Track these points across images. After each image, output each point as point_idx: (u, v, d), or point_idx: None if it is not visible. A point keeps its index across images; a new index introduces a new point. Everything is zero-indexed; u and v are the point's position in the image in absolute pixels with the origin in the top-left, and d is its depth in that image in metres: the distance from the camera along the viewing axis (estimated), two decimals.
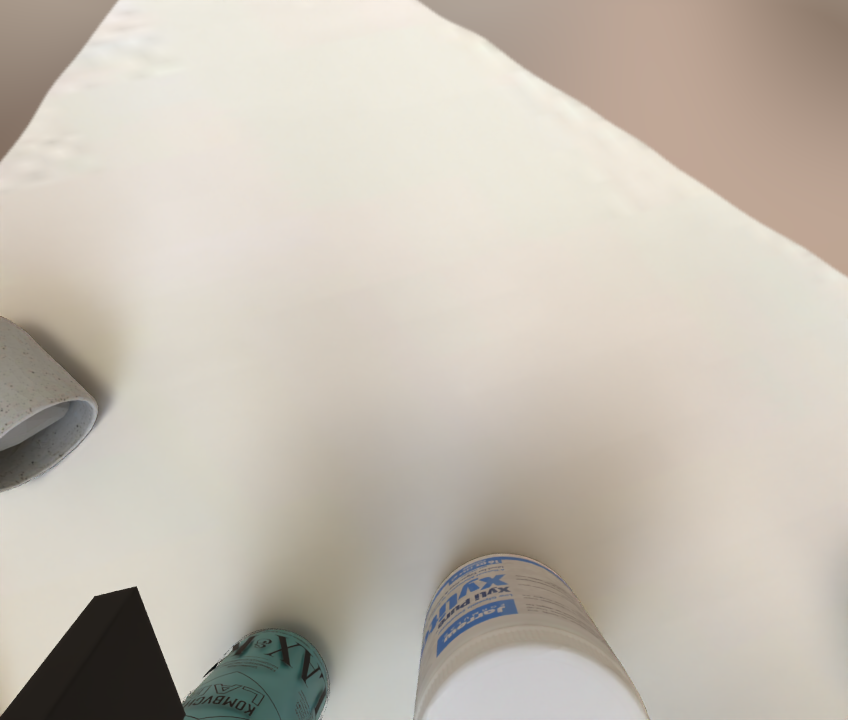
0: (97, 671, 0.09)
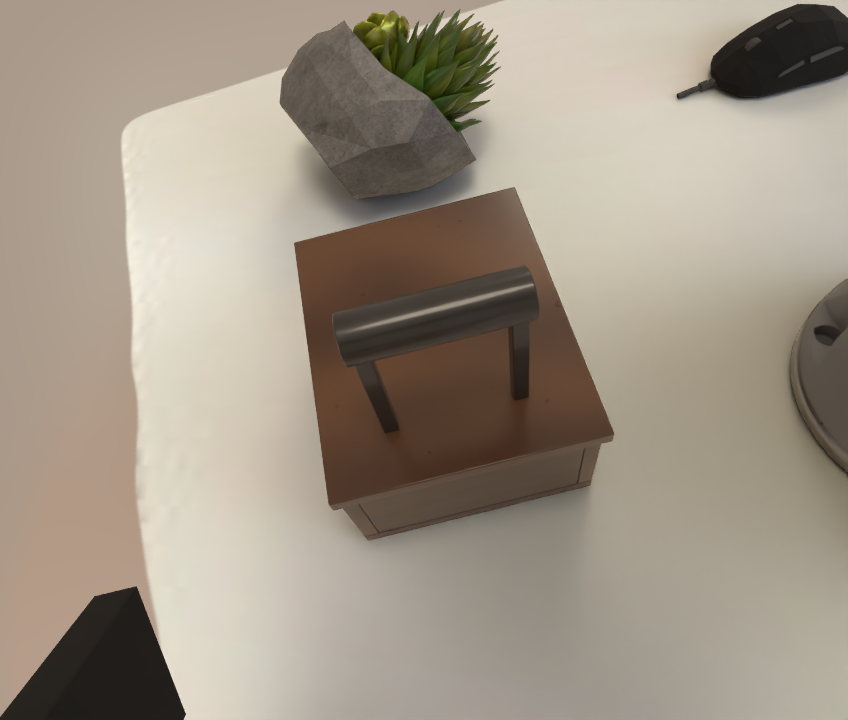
0: (97, 671, 0.09)
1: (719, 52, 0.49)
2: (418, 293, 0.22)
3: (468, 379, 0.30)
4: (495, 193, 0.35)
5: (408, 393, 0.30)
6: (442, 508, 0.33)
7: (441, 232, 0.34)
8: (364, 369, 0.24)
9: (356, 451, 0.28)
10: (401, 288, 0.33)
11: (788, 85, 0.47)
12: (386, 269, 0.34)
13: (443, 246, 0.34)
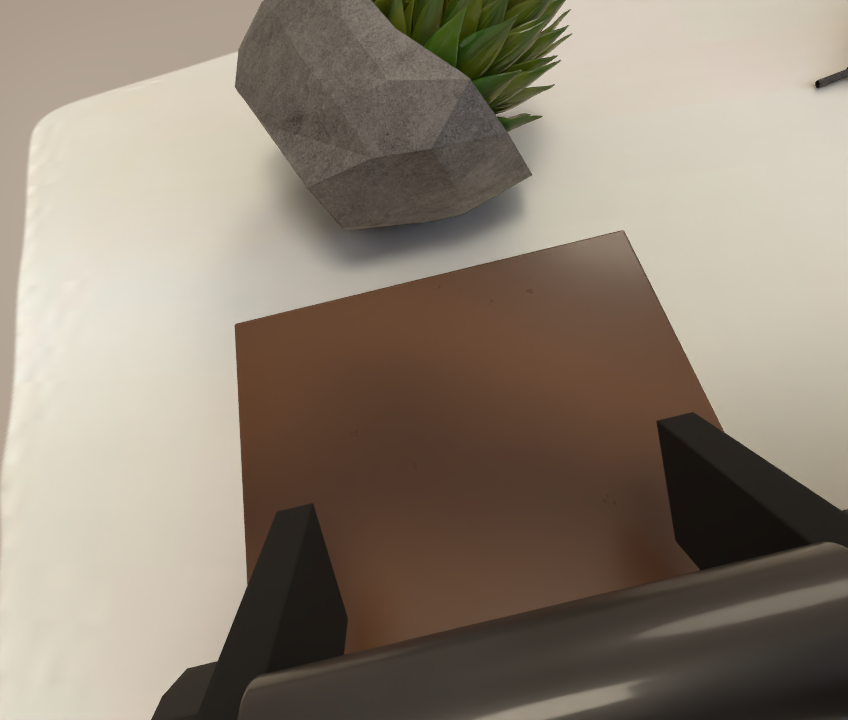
0: (306, 563, 0.11)
1: None
2: (517, 651, 0.07)
3: None
4: (590, 241, 0.20)
5: None
6: None
7: (497, 312, 0.19)
8: None
9: None
10: (426, 423, 0.17)
11: None
12: (397, 383, 0.18)
13: (502, 340, 0.18)
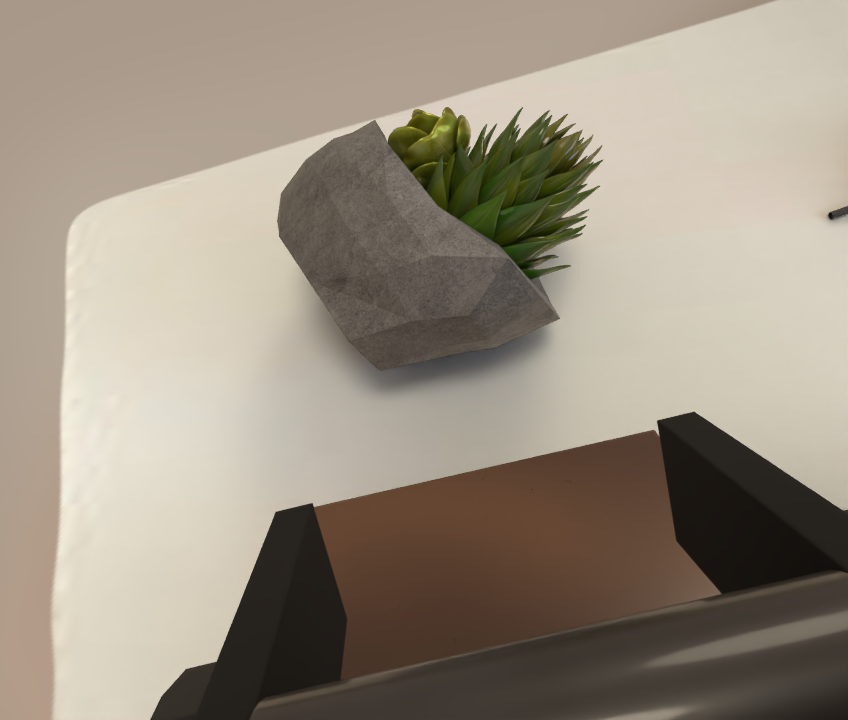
0: (304, 563, 0.11)
1: None
2: (517, 650, 0.07)
3: None
4: (624, 439, 0.21)
5: None
6: None
7: (537, 499, 0.20)
8: None
9: None
10: (467, 600, 0.17)
11: None
12: (440, 562, 0.19)
13: (542, 524, 0.19)
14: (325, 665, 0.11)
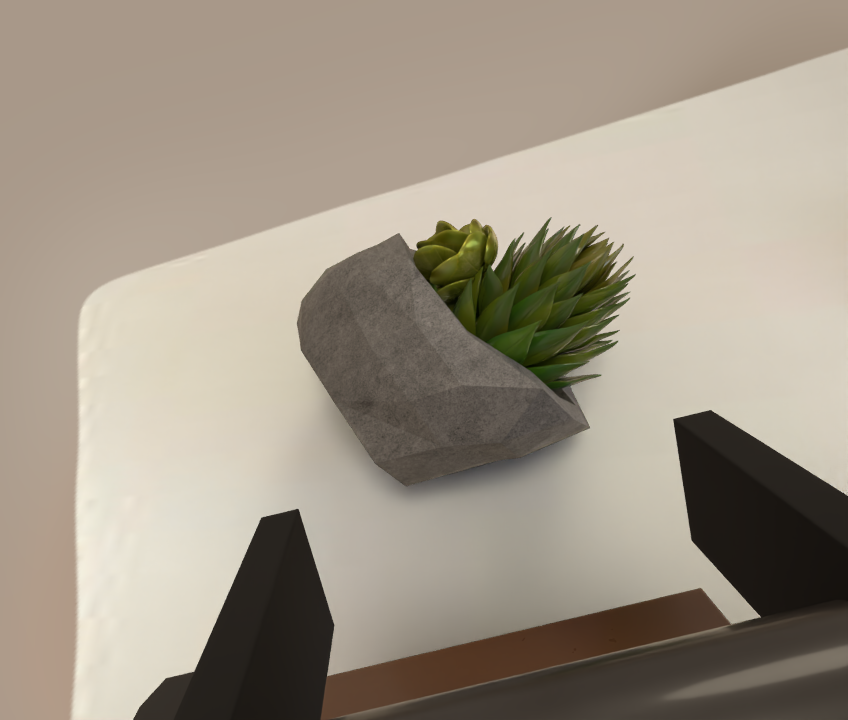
0: (289, 570, 0.11)
1: None
2: (521, 674, 0.07)
3: None
4: (669, 598, 0.21)
5: None
6: None
7: (580, 659, 0.19)
8: None
9: None
10: None
11: None
12: None
13: None
14: (309, 673, 0.11)
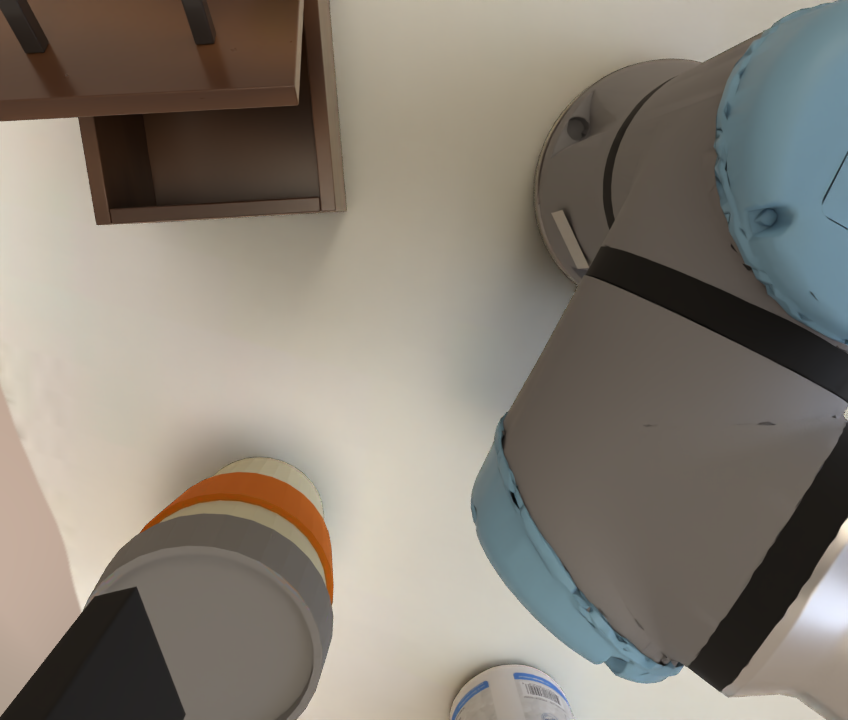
0: (98, 671, 0.09)
1: None
2: None
3: (154, 22, 0.24)
4: None
5: (76, 25, 0.24)
6: None
7: None
8: None
9: None
10: None
11: None
12: None
13: None
14: None
